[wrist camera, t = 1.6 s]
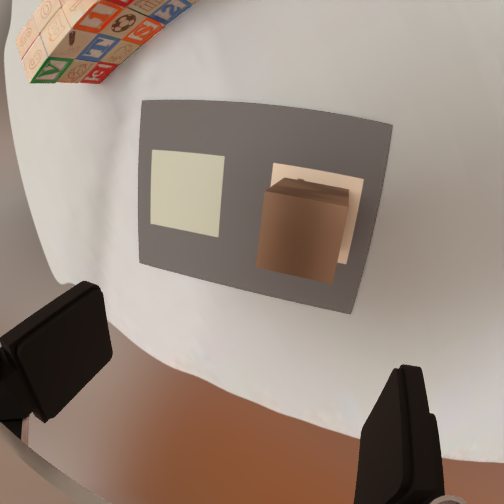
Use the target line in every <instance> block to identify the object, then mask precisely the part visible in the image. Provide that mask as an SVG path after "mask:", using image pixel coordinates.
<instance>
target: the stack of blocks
mask: <svg viewBox="0 0 504 504" xmlns="http://www.w3.org/2000/svg"><path fill="white" fill-rule="evenodd" d="M197 1H199V0H44V1H43V2H42V3H41V4H40V6H39V7H38V8H37V9H36V11H35V12H34V14H33V16H32V17H31V18H30V19H29V21H28V22H27V24H26V25H25V26H24V28H23V29H22V30H21V32H20V34H19V35H18V36H17V38H16V44H17V47H18V51H19V54H20V58H21V60H22V62H23V65H24V69H25V72H26V75H27V78H28V81H29V83H56V82H63V83H79V82H80V83H92V84H100V83H101V82H102V81H103V80H104V79H105V78H106V77H107V76H108V75H109V74H110V73H111V71H113V70H114V69H115V67H117V66H118V64H121V63H122V62H123V61H124V60H125V59H126V58H127V57H129V56H130V55H131V54H132V53H133V52H134V51H135V50H136V49H138V48H139V47H140V45H142V44H143V43H144V42H146V41H147V40H148V39H149V38H151V37H152V36H153V35H154V34H156V33H157V32H158V31H159V30H161V29H162V28H163V27H164V26H165V25H166V24H167V23H169V22H170V21H171V20H173V19H174V18H175V17H177V16H178V15H179V14H181V13H182V12H183V11H185V10H186V9H187V8H189V7H190V6H191V5H192V4H194V3H196V2H197Z"/></svg>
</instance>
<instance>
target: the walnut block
mask: <svg viewBox="0 0 504 504" xmlns="http://www.w3.org/2000/svg"><path fill="white" fill-rule="evenodd" d="M348 208H349V189H344V188H339V187H334V186H329V185H324V184H318V183H313V182H308V181H302V180H296V179H290V178H283V179H281V180H280V181H279V182H277V183H276V184H274V185H273V186H271V187H270V188H269V189H267V190H266V191H265V193H264V202H263V210H262V219H261V227H260V236H259V244H258V252H257V261H256V267H257V268H261V269H266V270H270V271H275V272H279V273H284V274H288V275H293V276H297V277H302V278H307V279H311V280H316V281H320V282H325V283H330V284H332V283H333V278H334V274H335V270H336V265H337V261H338V257H339V252H340V247H341V243H342V238H343V233H344V228H345V223H346V218H347V213H348Z"/></svg>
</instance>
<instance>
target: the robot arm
mask: <svg viewBox="0 0 504 504" xmlns="http://www.w3.org/2000/svg"><path fill="white" fill-rule="evenodd" d="M0 343H1V345H2V347H1V348H0V504H112V503H110V502H108V501H107V500H105V499H103V498H101V497H100V496H98V495H96V494H95V493H93V492H91V491H90V490H88V489H87V488H85V487H83V486H82V485H80V484H79V483H77V482H76V481H74V480H73V479H71V478H70V477H68V476H66V475H65V474H64V473H62V472H61V471H60V470H58V469H57V468H55V467H54V466H53V465H51V464H50V463H49V462H47V461H46V460H45V459H43V458H42V457H41V456H39V455H38V454H37V453H36V452H34V451H33V450H32V449H31V448H29V447H28V432H29V414H30V413H31V412H33V413H34V415H35V416H36V417H37V418H38V419H40V420H41V421H42V422H44V423H46V422H47V421H48V420H49V419H50V418H54V417H55V416H56V415H57V414H58V413H59V412H60V411H61V410H62V409H63V408H64V407H65V406H66V405H67V404H68V403H69V402H70V400H72V399H73V398H74V397H75V396H76V394H77V393H78V392H79V391H80V390H81V389H82V388H83V387H84V386H85V385H86V384H87V383H88V382H89V381H90V380H91V379H92V378H93V377H94V376H95V375H96V374H97V373H98V372H99V371H100V370H101V369H102V368H103V367H104V366H105V365H106V364H107V363H108V362H109V361H110V359H111V358H112V354H113V351H112V346H111V341H110V335H109V330H108V323H107V317H106V311H105V304H104V297H103V293H102V291H101V290H100V287H99V286H98V285H95V284H93V283H90V282H87V281H82V282H80V283H79V284H77V285H76V286H74V287H73V288H71V289H70V290H68V291H66V292H65V293H64V294H62V295H60V296H59V297H57V298H56V299H54V300H53V301H52V302H50V303H49V304H47V305H46V306H44V307H43V308H41V309H40V310H38V311H37V312H35V313H34V314H33V315H31V316H30V317H28V318H27V319H25V320H24V321H23V322H21V323H20V324H18V325H17V326H16V327H14V328H13V329H11V330H10V331H9V332H7V333H6V334H4V335H3V336H2V337H0ZM444 492H445V491H444V477H443V467H442V457H441V449H440V441H439V434H438V427H437V421H436V417H435V415H434V414H431V413H429V406H428V400H427V394H426V389H425V383H424V378H423V373H422V369H421V368H420V367H417V366H410V365H404V364H403V365H401V366H400V368H399V369H397V368H394V369H393V371H392V373H391V375H390V377H389V379H388V381H387V383H386V385H385V387H384V389H383V391H382V393H381V395H380V397H379V398H378V400H377V402H376V404H375V406H374V408H373V410H372V411H371V413H370V415H369V417H368V419H367V420H366V422H365V424H364V426H363V428H362V431H361V438H360V451H359V462H358V472H357V482H356V490H355V498H354V504H467V503H466V502H465V501H464V500H463V499H461V498H459V497H457V496H452V495H447V496H445V493H444Z"/></svg>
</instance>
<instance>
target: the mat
mask: <svg viewBox="0 0 504 504" xmlns="http://www.w3.org/2000/svg"><path fill="white" fill-rule="evenodd" d="M391 132H392V125H390V124H386V123H381V122H377V121H372V120H367V119H362V118H357V117H352V116H347V115H341V114H335V113H329V112H323V111H316V110H309V109H302V108H294V107H286V106H277V105H267V104H256V103H243V102H227V101H204V100H146V101H142V107H141V121H140V139H139V164H138V235H139V260H140V263H142V264H145V265H149V266H153V267H156V268H160V269H164V270H167V271H171V272H175V273H179V274H183V275H186V276H190V277H194V278H198V279H202V280H206V281H210V282H214V283H218V284H222V285H226V286H230V287H234V288H238V289H242V290H246V291H250V292H254V293H258V294H263V295H267V296H271V297H275V298H280V299H284V300H288V301H293V302H297V303H301V304H306V305H310V306H315V307H319V308H324V309H328V310H333V311H338V312H342V313H347V314H351V312H352V309H353V305H354V302H355V298H356V295H357V291H358V288H359V284H360V281H361V277H362V273H363V269H364V266H365V262H366V258H367V254H368V250H369V246H370V242H371V237H372V233H373V229H374V224H375V220H376V215H377V211H378V206H379V201H380V196H381V191H382V186H383V181H384V175H385V170H386V164H387V158H388V152H389V146H390V139H391ZM283 178H290V179H296V180H302V181H308V182H313V183H318V184H324V185H329V186H334V187H339V188H344V189H349V208H348V213H347V218H346V223H345V228H344V233H343V238H342V243H341V247H340V252H339V257H338V261H337V265H336V270H335V274H334V278H333V283H332V284H330V283H325V282H320V281H316V280H311V279H307V278H302V277H297V276H293V275H288V274H284V273H279V272H275V271H270V270H266V269H261V268H257V267H256V261H257V252H258V244H259V236H260V227H261V219H262V210H263V202H264V193H265V191H266V190H267V189H269V188H270V187H271V186H273V185H274V184H276V183H277V182H279V181H280V180H281V179H283Z"/></svg>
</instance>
